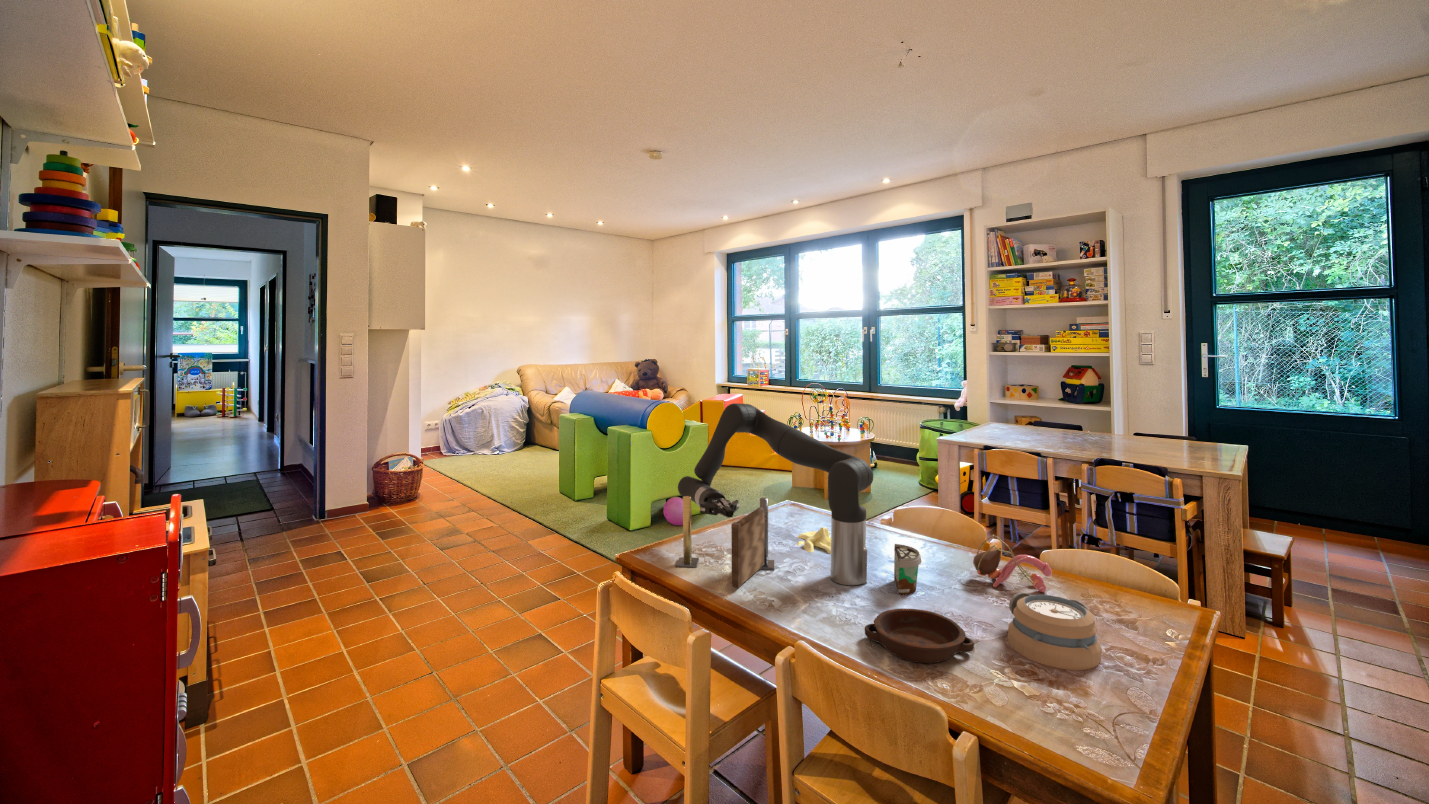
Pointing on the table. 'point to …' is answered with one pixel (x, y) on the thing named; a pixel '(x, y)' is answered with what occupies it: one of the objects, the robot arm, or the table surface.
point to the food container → (906, 569)
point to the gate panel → (747, 546)
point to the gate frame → (687, 543)
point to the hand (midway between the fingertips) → (730, 513)
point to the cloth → (816, 540)
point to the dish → (918, 635)
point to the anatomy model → (1009, 566)
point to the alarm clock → (1054, 631)
